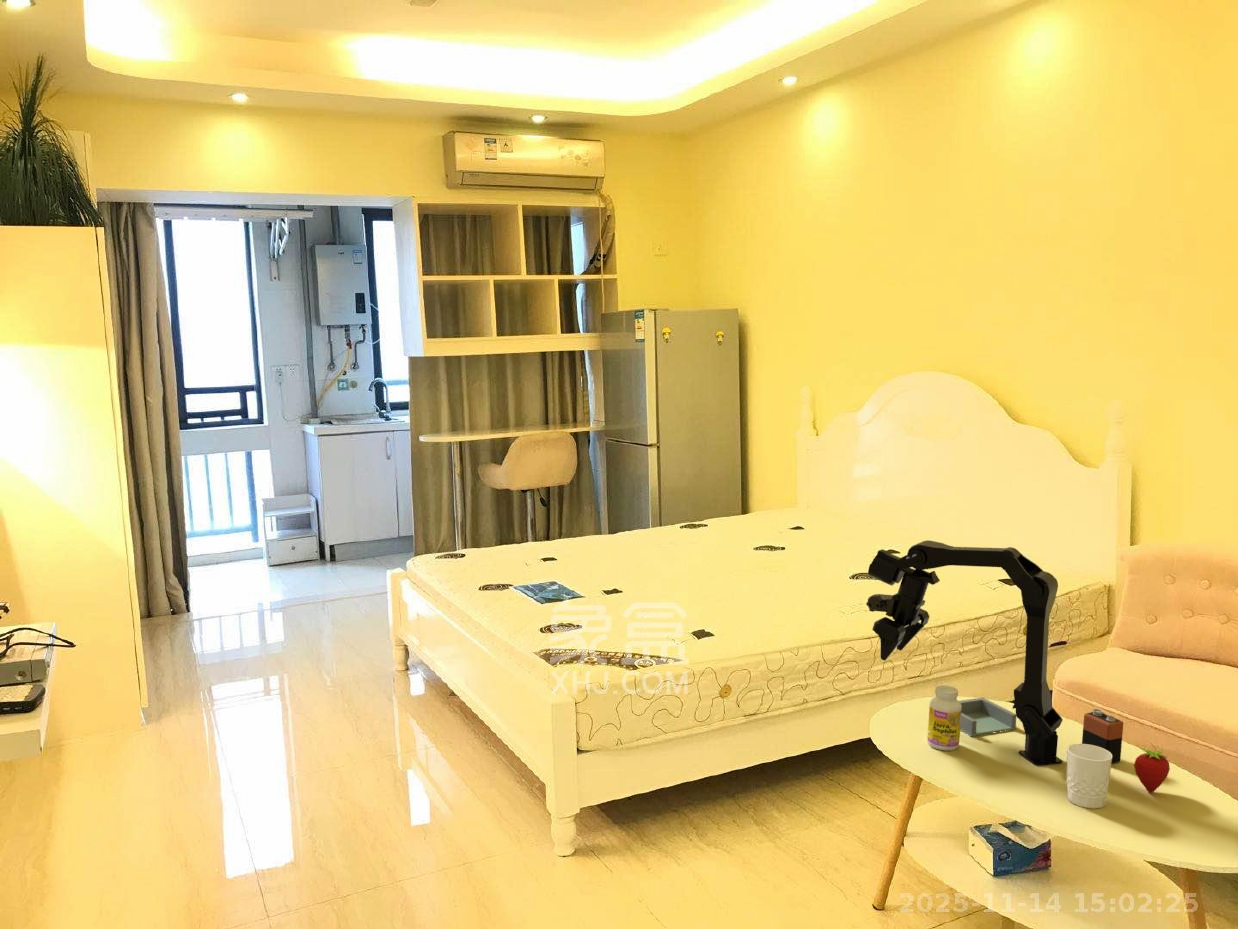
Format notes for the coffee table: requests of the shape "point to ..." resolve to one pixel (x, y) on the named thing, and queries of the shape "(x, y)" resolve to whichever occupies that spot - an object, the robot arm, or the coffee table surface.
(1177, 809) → the coffee table surface
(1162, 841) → the coffee table surface
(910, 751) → the coffee table surface
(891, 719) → the coffee table surface
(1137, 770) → the strawberry
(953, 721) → the supplement bottle
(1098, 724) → the battery
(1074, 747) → the white cup
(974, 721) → the grey tray
